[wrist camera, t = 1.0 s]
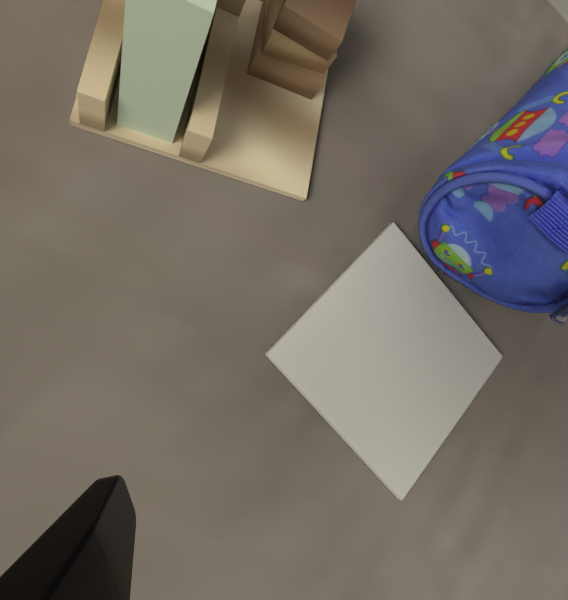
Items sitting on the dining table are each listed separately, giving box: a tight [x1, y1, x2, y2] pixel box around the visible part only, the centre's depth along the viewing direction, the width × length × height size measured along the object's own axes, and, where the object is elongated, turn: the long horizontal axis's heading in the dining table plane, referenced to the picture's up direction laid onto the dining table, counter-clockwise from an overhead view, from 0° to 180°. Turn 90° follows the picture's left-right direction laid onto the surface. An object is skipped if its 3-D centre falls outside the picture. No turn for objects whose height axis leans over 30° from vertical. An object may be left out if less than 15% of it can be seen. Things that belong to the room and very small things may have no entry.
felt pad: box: [265, 222, 503, 500], centre depth 24 cm, size 10×10×1 cm
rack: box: [70, 0, 356, 201], centre depth 20 cm, size 10×11×5 cm
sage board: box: [117, 0, 217, 143], centre depth 17 cm, size 5×2×8 cm, turn 171°
